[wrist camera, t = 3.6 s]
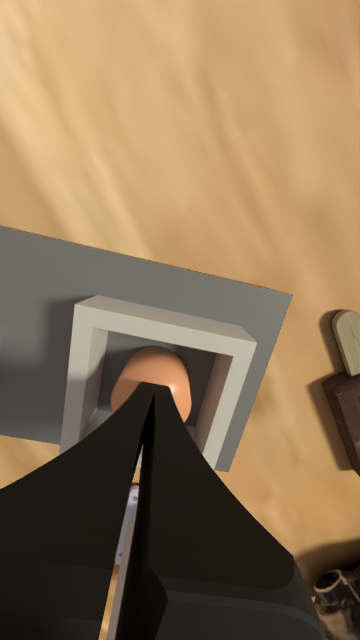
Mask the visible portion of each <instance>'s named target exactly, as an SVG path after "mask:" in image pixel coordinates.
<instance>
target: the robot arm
mask: <svg viewBox="0 0 360 640" xmlns="http://www.w3.org/2000/svg"><path fill="white" fill-rule="evenodd" d="M142 445H143V448H142ZM141 449H142V459H141V469H140V480H139V485H135V486H132V487H131V484H132V480H133V477H134V473H135V470H136V466H137V463H138V459H139V456H140V452H141ZM130 487H131V489H130ZM129 491H130V494H129ZM128 494H129V498H128ZM127 498H128V503H127ZM126 503H127V507H126ZM125 507H126V512H125ZM124 512H125V516H124ZM123 517H124V521H123ZM122 522H123V526H122ZM121 527H122V530H121ZM120 532H121V535H120ZM119 537H120V539H119ZM118 542H119V544H118ZM117 547H118V548H117ZM116 552H117V553H116ZM114 562H115V563H116V564H117V565H120V568H119V573H118V579H117V584H116V589H115V595H114V600H113V606H112V611H111V616H110V622H109V627H108V632H107V638H106V640H326V634H325V631H324V629H323V626H322V624H321V621H320V619H319V616H318V614H317V611H316V609H315V606H314V604H313V601H312V598H311V596H310V593H309V591H308V588H307V586H306V584H305V582H304V579H303V577H302V575H301V573H300V571H299V569H298V567H297V564H296V562H295V560H294V558H293V556H292V555H291V554H290V553H289V552H288V551H287V550H286V549H285V548H284V547H283V546H282V545H281V544H280V543H279V542H278V541H277V540H276V539H275V538H274V537H273V536H272V535H271V534H270V533H269V532H268V531H267V530H266V529H265V528H264V527H263V526H262V525H261V524H260V523H259V522H258V521H257V520H256V519H255V518H254V517H253V516H252V515H251V514H250V513H249V512H248V511H247V510H246V508H245V507H244V506H243V505H242V504H241V503H240V502H239V501H238V500H237V499H236V497H235V496H234V495H233V494H232V493H231V492H230V490H229V489H228V488H227V487H226V486H225V484H224V483H223V482H222V480H221V479H220V478H219V477H218V475H217V474H216V473H215V472H214V470H213V469H212V468H211V466H210V465H209V464H208V462H207V461H206V459H205V458H204V456H203V455H202V453H201V452H200V450H199V449H198V447H197V445H196V444H195V442H194V440H193V439H192V437H191V435H190V433H189V431H188V429H187V428H186V426H185V424H184V422H183V419H182V417H181V415H180V413H179V411H178V408H177V406H176V403H175V401H174V398H173V395H172V392H171V389H170V387H169V386H165V385H159V384H154V383H149V382H143V381H142V382H140V383H139V384H138V386H137V387H136V389H135V390H134V392H133V393H132V394H131V395H130V396H129V398H128V399H127V400H126V401H125V402H124V403H123V404H122V405H121V406H120V407H119V408H118V409H117V410H116V411H115V412H114V413H113V414H112V415H111V416H110V417H109V418H108V419H107V420H106V421H104V422H103V423H102V424H101V425H100V426H99V427H97V428H96V429H95V430H94V431H92V432H91V433H90V434H89V435H87V436H86V437H85V438H83V439H82V440H81V441H79V442H78V443H76V444H75V445H74V446H72V447H71V448H69V449H68V450H66V451H65V452H63V453H62V454H60V455H59V456H57V457H56V458H54V459H53V460H51V461H49V462H48V463H46V464H44V465H43V466H41V467H39V468H37V469H36V470H34V471H32V472H31V473H29V474H27V475H26V476H24V477H22V478H21V479H19V480H17V481H15V482H13V483H12V484H10V485H8V486H6V487H4V488H2V489H0V640H98V639H99V634H100V630H101V625H102V620H103V615H104V611H105V606H106V601H107V596H108V591H109V586H110V581H111V577H112V572H113V567H114Z"/></svg>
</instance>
